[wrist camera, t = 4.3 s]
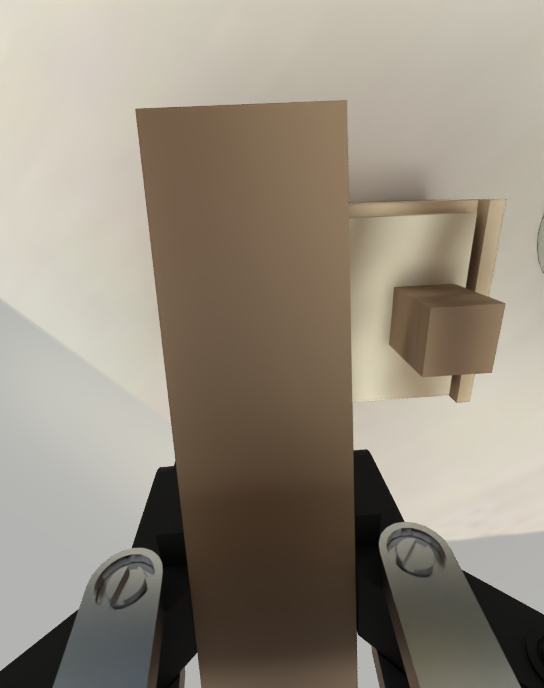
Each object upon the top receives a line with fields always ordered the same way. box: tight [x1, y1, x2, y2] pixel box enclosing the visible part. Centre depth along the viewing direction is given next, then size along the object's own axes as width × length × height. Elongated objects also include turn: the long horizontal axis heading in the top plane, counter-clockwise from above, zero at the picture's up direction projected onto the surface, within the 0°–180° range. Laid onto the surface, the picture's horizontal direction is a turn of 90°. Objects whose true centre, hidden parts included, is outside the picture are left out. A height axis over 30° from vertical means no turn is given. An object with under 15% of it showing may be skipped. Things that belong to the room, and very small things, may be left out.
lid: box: [349, 212, 505, 402], centre depth 22 cm, size 17×13×6 cm
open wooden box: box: [349, 199, 506, 403], centre depth 28 cm, size 20×15×13 cm
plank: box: [135, 100, 358, 688], centre depth 10 cm, size 3×16×6 cm, turn 3°
